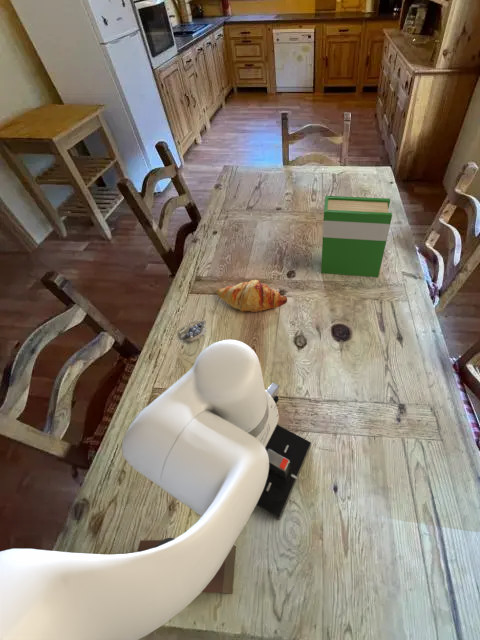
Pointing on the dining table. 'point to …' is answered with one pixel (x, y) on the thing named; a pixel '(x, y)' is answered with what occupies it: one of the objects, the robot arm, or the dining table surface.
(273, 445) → the hob
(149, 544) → the shelf
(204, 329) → the blueberries
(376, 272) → the hardback book
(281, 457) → the hob knob
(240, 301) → the croissant
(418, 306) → the dining table surface
